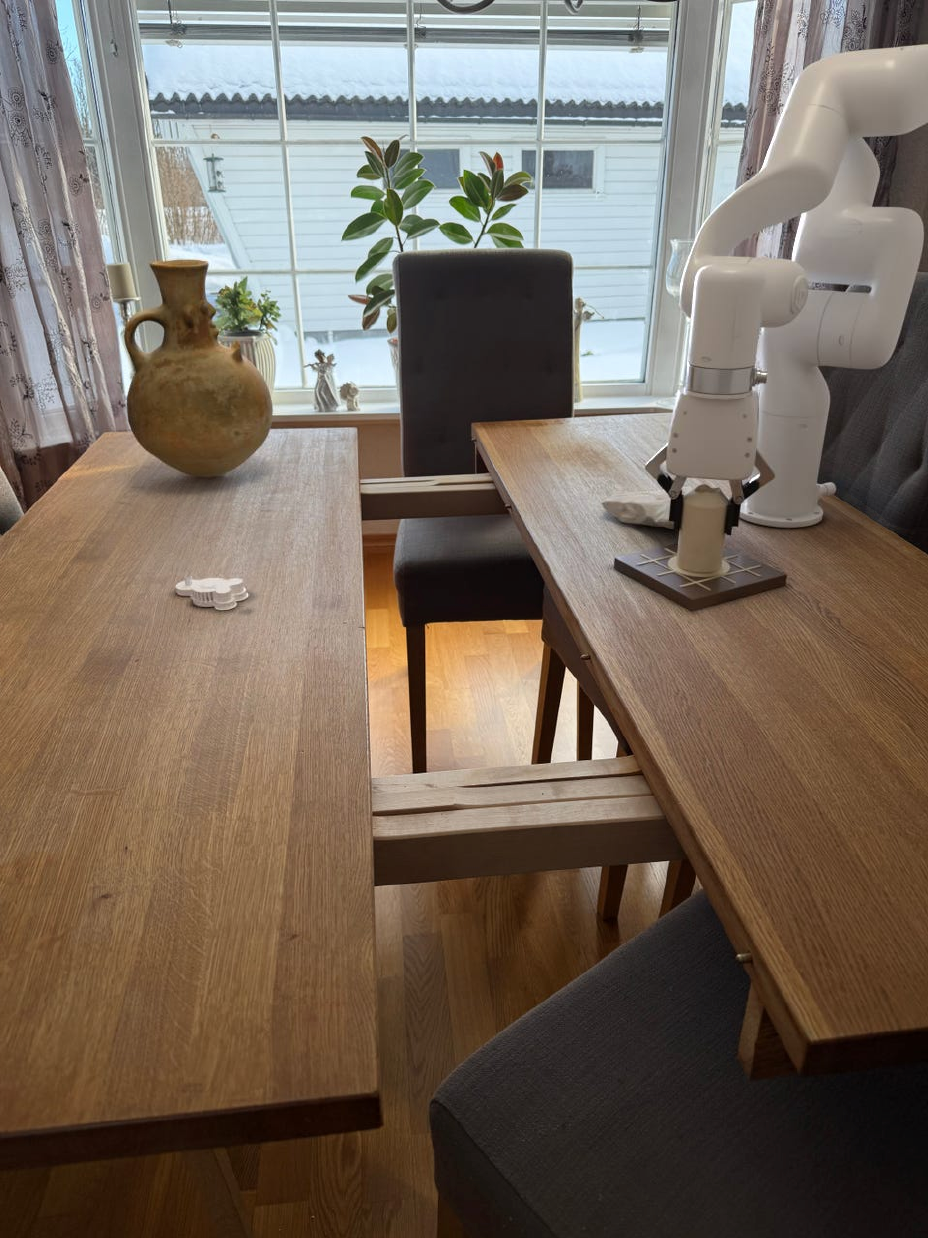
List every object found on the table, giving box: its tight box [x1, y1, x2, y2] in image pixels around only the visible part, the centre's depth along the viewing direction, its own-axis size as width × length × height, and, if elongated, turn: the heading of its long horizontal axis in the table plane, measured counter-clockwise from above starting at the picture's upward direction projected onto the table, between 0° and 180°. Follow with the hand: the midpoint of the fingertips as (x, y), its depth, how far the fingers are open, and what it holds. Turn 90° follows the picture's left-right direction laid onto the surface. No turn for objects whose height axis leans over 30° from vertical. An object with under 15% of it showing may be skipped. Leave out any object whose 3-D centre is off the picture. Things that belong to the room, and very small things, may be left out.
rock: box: [601, 486, 694, 530], centre depth 129 cm, size 21×5×15 cm
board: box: [613, 542, 788, 612], centre depth 111 cm, size 15×15×2 cm
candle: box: [677, 483, 729, 573], centre depth 109 cm, size 6×6×10 cm
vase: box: [123, 258, 274, 478], centre depth 148 cm, size 24×24×35 cm
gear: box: [175, 574, 250, 611], centre depth 107 cm, size 9×9×2 cm
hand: (702, 527), depth 109 cm, fingers closed on candle, 5 cm apart
